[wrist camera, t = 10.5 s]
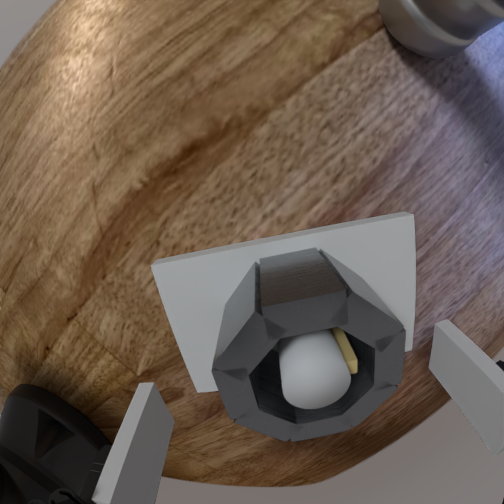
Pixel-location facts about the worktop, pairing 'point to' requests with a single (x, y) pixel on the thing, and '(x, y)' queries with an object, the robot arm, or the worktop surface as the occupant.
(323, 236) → the shaft stand
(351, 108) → the worktop surface
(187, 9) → the worktop surface
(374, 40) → the worktop surface
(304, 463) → the worktop surface
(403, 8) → the plastic bottle
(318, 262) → the ring
